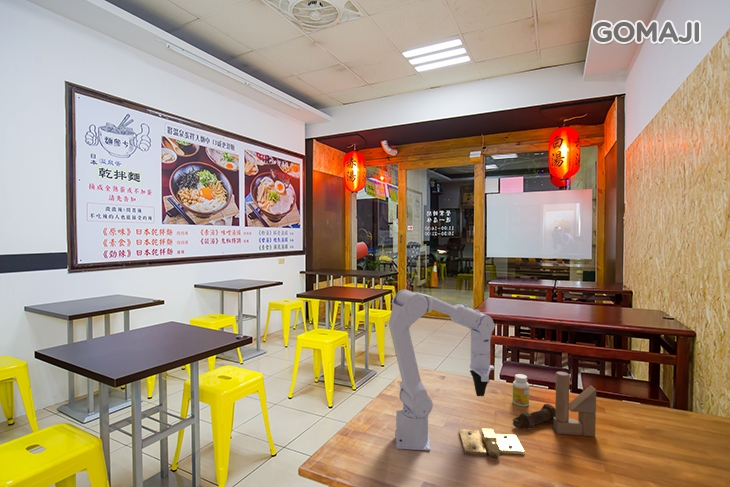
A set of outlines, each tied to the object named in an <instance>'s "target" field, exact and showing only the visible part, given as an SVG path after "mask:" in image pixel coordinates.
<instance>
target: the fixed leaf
mask: <svg viewBox="0 0 730 487" xmlns="http://www.w3.org/2000/svg"><path fill="white" fill-rule="evenodd" d="M479 430H480V429H479ZM479 430H478V429H477V430H476V429H465V428H464V429H460V428H459V429H458V434H459V437H460V441H461V445H462V448H463V453H464V455H468V456H481V457H482V456H485V457H486V456H487V455H489V456H490V457H491V458H493V459H497V458H499V457H500V456H501V454H502V453H501V451H500V449H499V446H498V444H497V442H496V440H495V439H493V438H489V439H487V440H486V442H485V445H486V448H485V446H484V444H483V441H482V435H481V432H480V431H479ZM487 453H488V454H487Z"/></svg>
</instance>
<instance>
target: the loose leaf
mask: <svg viewBox="0 0 730 487" xmlns="http://www.w3.org/2000/svg"><path fill="white" fill-rule="evenodd" d="M481 438H482V441H483V444H484V446H485V449H487V448H486V445H485V442H486V440H487V439H489V438H493V439H495V440H496V442H497V444H498V446H499V449H500V451H501V454H511V455H525V454H526V453H525V450H524V448H523V446H522V444H521V442H520V440H519V439H518V437H517V435H516V434H506V433H505V434H503V433H495V431H494V428H482V427H481Z"/></svg>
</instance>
